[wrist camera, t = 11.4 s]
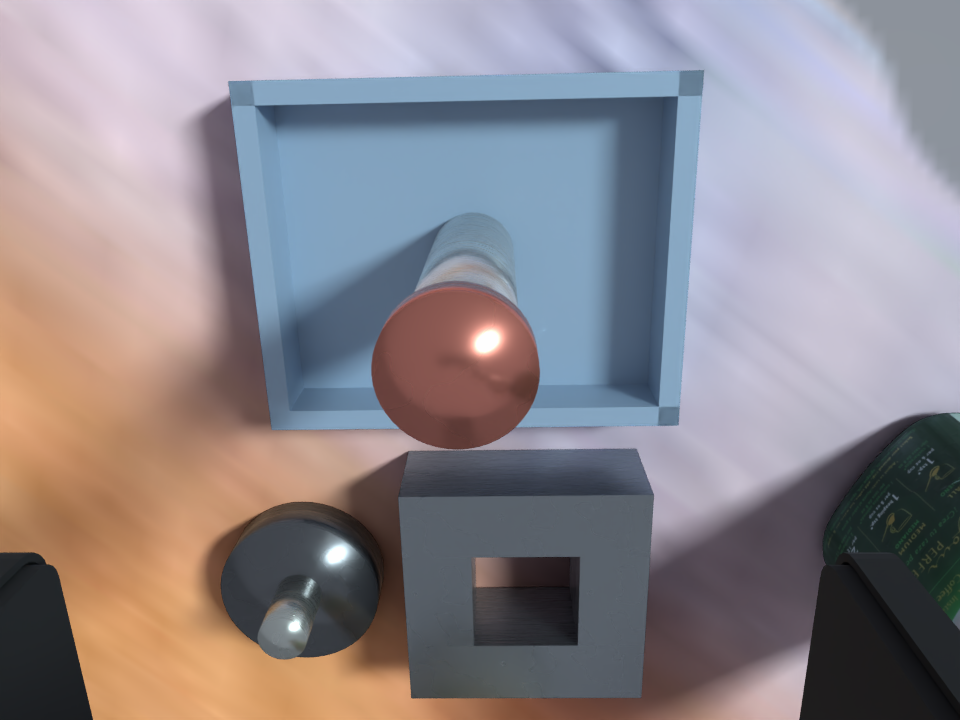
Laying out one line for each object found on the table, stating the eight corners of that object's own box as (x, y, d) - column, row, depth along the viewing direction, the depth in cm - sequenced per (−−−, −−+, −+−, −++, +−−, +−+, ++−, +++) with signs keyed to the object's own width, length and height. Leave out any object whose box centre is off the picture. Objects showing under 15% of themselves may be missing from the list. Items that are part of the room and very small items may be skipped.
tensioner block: (636, 448, 34) (653, 494, 30) (626, 635, 37) (641, 697, 34) (408, 451, 34) (398, 497, 31) (419, 636, 38) (411, 698, 34)
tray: (683, 70, 29) (703, 70, 26) (662, 395, 33) (678, 425, 30) (254, 81, 29) (228, 81, 26) (290, 400, 34) (271, 429, 31)
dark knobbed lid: (378, 501, 35) (360, 566, 30) (388, 628, 38) (372, 706, 33) (225, 502, 35) (184, 567, 31) (244, 628, 38) (209, 707, 33)
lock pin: (523, 200, 30) (539, 290, 18) (524, 301, 31) (539, 448, 19) (419, 203, 30) (365, 293, 18) (425, 303, 31) (377, 449, 19)
